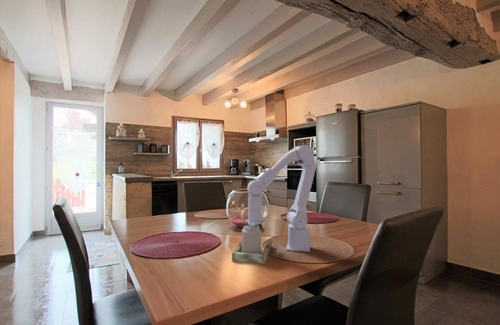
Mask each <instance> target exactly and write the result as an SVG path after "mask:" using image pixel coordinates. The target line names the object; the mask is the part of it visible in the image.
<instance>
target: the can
mask: <svg viewBox="0 0 500 325" xmlns="http://www.w3.org/2000/svg"><path fill="white" fill-rule="evenodd" d="M241 241H242V252H241V253H253V254H262V230H261V229H259V226H258V225H256V226H255V228H253V227H249V224H245V225H244V226H243V228H242V229H241Z"/></svg>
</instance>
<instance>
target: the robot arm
mask: <svg viewBox="0 0 500 325" xmlns="http://www.w3.org/2000/svg"><path fill="white" fill-rule="evenodd" d="M293 162H297V163H299V165H300V166H301V168H302V171H301V173H300V174H301V175H300V179H299V183H298V186H297V191H296V195H295V197H294V202H293V204H292V205H291V206H290V209H289V211H288V212H287V214H286V222H288V226H287V244H286V251H291V252H292V251H295V252H310V251H311V245H312V243H311V230H310V228H308V227H307V224H308V209H307V205H308V201H309V197H310V193H311V189H312V185H313V181H314V177H315V173H316V170H317V164H316V160H315V151H314V150H313V149H312V147H311V146H310V145H308V144H303V145H295V146H294V147H292V149H290V150H289V151H287V152H286V153H285V154H284V155H283V156H282V157H281V158H280V159H279V160H278V161H277V162H276V163H275V164H274V165H272V167H270V168H269V167H267V168H263V169H262V170H261V173H260V174H259V175H257V177H256V176H255V177H253V180H251V181H250V182H248V184H247V186H246V190H247V192H248V200H247V214H248V215H247V219H245V220H244V222H245V223H248V225H249V227H253V228H255V226H256V225H258V226H259V229H260V230H261V229H262V227H263V216H262V215H263V209H262V208H263V204H262V203H263V199H262V198H263V197H262V194H263V193H264V189H265V188H267V187H268V186H269V185H271V183H272V182H273V181H275V180H276V179H277V174H278V173H280V172H281V171H282V170H283V169H284V168H285V167H287V166H288V165H289V164H290V163H293Z"/></svg>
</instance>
